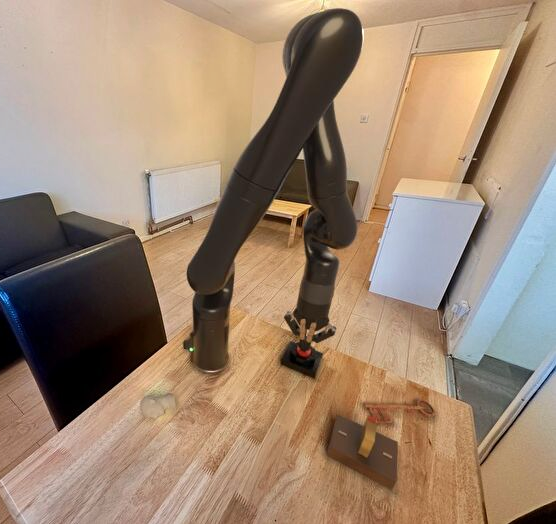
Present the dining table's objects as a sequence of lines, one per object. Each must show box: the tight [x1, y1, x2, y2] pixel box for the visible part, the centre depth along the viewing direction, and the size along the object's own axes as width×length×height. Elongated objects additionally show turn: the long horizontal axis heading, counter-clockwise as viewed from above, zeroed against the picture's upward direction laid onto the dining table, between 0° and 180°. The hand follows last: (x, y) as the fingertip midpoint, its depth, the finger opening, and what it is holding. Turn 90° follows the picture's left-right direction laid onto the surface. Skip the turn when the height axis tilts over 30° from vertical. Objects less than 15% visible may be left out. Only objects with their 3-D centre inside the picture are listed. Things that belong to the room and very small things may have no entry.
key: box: [363, 399, 436, 424], centre depth 64 cm, size 6×1×15 cm
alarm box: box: [280, 340, 324, 380], centre depth 76 cm, size 9×8×4 cm
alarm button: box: [296, 346, 311, 357], centre depth 75 cm, size 4×4×2 cm
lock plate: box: [326, 413, 399, 491], centre depth 55 cm, size 11×8×3 cm
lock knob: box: [358, 414, 378, 457], centre depth 53 cm, size 5×2×5 cm, turn 147°
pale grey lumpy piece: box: [139, 392, 177, 420], centre depth 63 cm, size 4×8×5 cm
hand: (303, 349), depth 75 cm, fingers closed
